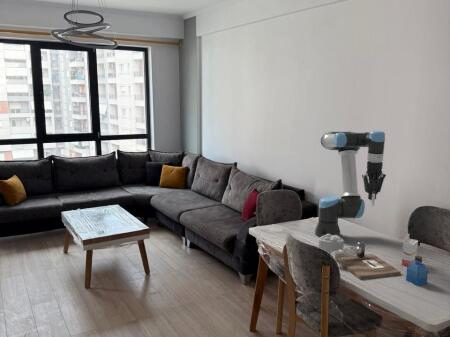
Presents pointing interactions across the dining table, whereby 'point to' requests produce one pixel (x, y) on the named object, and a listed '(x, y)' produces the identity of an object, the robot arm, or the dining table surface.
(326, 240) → the lumpy-topped squat cylinder
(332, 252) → the swing bar
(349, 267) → the label board
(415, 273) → the perfume bottle
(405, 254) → the ink cartridge box
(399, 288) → the dining table surface
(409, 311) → the dining table surface
